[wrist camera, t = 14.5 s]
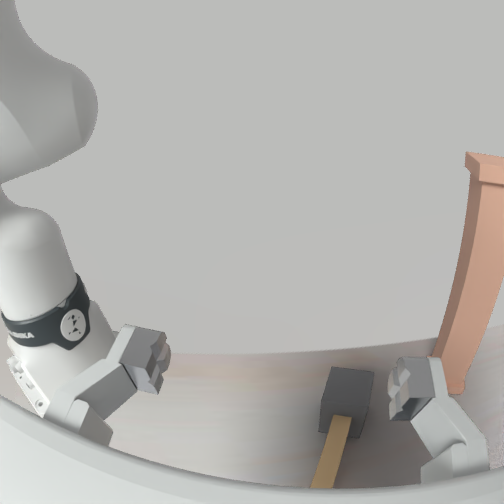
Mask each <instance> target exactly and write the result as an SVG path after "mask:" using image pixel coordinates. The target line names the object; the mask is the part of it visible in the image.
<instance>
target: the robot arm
mask: <svg viewBox="0 0 504 504" xmlns="http://www.w3.org/2000/svg"><path fill="white" fill-rule="evenodd" d="M97 113H98V103H97V96H96V93H95V89H94V87H93V85H92V83H91V81H90V80H89V78H88V77H87V76H86V74H85V73H84V72H82V70H80V69H79V68H77V67H76V66H74V65H72V64H69V63H66V62H64V61H61V60H59V59H57V58H54V57H53V56H51V55H49V54H48V53H46V52H45V51H43V50H42V49H41V48H40V47H39V46H38V45H36V44H35V43H34V42H33V40H32V39H31V38H30V37H29V36H28V34H27V33H26V31H25V30H24V28H23V27H22V24H21V22H20V20H19V17H18V14H17V11H16V6H15V1H14V0H0V308H1V310H2V318H3V321H4V325H5V327H6V329H7V331H8V332H9V337H8V340H7V344H8V346H9V348H10V349H11V351H12V353H13V354H14V355H13V356H12V357H10V358H9V359H7V363H8V365H9V366H10V370H11V372H12V374H13V376H14V377H15V379H16V381H17V382H18V384H19V386H20V387H21V389H22V390H23V392H24V394H25V395H26V397H27V398H28V400H29V401H30V403H31V404H32V406H33V407H34V409H35V410H36V411H37V413H38V414H39V416H38V415H36V414H34V413H32V412H30V411H28V410H26V409H25V408H23V407H21V406H19V405H17V404H16V403H14V402H12V401H10V400H8V399H7V398H5V397H4V396H2V395H0V504H504V466H502V467H499V468H495V469H491V470H490V467H489V458H488V450H487V443H486V438H485V436H484V435H483V434H482V433H481V431H480V430H479V429H478V428H477V426H476V425H475V424H474V423H473V422H472V420H471V419H470V418H469V417H468V415H467V414H466V413H465V412H464V411H463V409H462V408H461V407H460V406H459V405H458V403H457V402H456V401H455V400H454V399H453V397H449V396H448V390H447V385H446V380H445V376H444V371H443V366H442V362H441V359H440V358H439V357H401V358H399V359H398V361H397V367H396V368H394V369H392V371H391V373H390V374H389V378H388V386H387V388H388V394H389V396H390V397H391V398H392V400H391V402H390V403H389V416H390V421H398V420H411V421H410V422H411V423H412V425H413V427H414V428H415V430H416V431H417V433H418V435H419V436H420V438H421V440H422V441H423V443H424V445H425V446H426V448H427V449H428V451H429V453H430V454H431V456H432V458H433V459H431V460H430V461H428V462H427V463H425V464H424V465H423V466H422V467H421V483H420V484H411V485H402V486H391V487H376V488H345V489H336V488H304V487H289V486H278V485H268V484H260V483H252V482H245V481H238V480H232V479H226V478H221V477H215V476H210V475H205V474H201V473H196V472H192V471H187V470H183V469H179V468H175V467H171V466H167V465H164V464H160V463H157V462H153V461H150V460H146V459H143V458H140V457H137V456H134V455H131V454H128V453H125V452H122V451H119V450H116V449H113V448H111V447H108V445H109V443H110V440H111V437H112V434H113V431H112V429H111V428H110V426H109V425H108V424H107V423H106V422H105V421H104V420H105V419H106V418H107V417H108V416H110V415H111V414H112V413H113V412H114V411H115V410H117V409H118V408H119V407H120V406H121V405H122V404H123V403H125V402H126V401H127V400H128V399H129V398H130V397H131V396H132V395H134V394H135V393H136V392H137V390H140V391H144V392H148V393H153V394H157V395H158V394H159V391H160V388H161V386H162V383H163V380H164V379H163V376H162V373H163V372H165V371H166V370H167V369H168V366H169V363H170V358H171V350H170V347H169V345H168V344H167V343H166V342H165V341H166V339H167V338H166V335H165V333H164V332H159V331H155V330H150V329H145V328H140V327H137V326H132V325H127V324H125V325H124V326H123V327H122V328H121V330H120V332H115V331H112V329H111V328H110V326H109V324H108V322H107V320H106V318H105V317H104V315H103V313H102V311H101V309H100V307H99V305H98V304H97V303H96V302H95V301H91V300H89V297H88V295H87V291H86V288H85V285H84V283H83V282H82V280H81V278H80V276H79V275H78V274H77V273H75V271H74V269H73V266H72V263H71V260H70V258H69V255H68V252H67V249H66V246H65V243H64V240H63V237H62V234H61V231H60V228H59V226H58V224H57V223H56V221H55V220H54V219H53V218H52V217H51V216H49V215H48V214H47V213H45V212H43V211H41V210H38V209H34V208H28V207H21V206H18V205H16V204H14V203H13V202H12V201H11V200H9V199H8V198H7V196H6V195H5V194H4V192H3V190H2V188H1V184H2V183H4V182H7V181H9V180H12V179H14V178H17V177H19V176H22V175H25V174H28V173H30V172H33V171H36V170H39V169H41V168H44V167H47V166H50V165H51V164H53V163H55V162H57V161H59V160H61V159H63V158H64V157H66V156H68V155H70V154H72V153H74V152H75V151H77V150H79V149H81V148H82V147H84V146H85V145H86V144H87V142H88V140H89V139H90V137H91V135H92V133H93V130H94V127H95V124H96V120H97Z"/></svg>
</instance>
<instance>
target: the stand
mask: <svg viewBox="0 0 504 504" xmlns="http://www.w3.org/2000/svg"><path fill="white" fill-rule="evenodd" d="M465 167H466V168H467V169H468V170H469V171H470V172H471V174H470V185H469V196H468V203H467V211H466V218H465V226H464V231H463V237H462V243H461V248H460V253H459V259H458V264H457V268H456V273H455V277H454V282H453V285H452V290H451V294H450V297H449V301H448V305H447V309H446V312H445V316H444V319H443V323H442V326H441V329H440V333H439V336H438V339H437V342H436V345H435V348H434V351H433V354H432V356H427V357H439V358H440V359H441V362H442V366H443V371H444V376H445V380H446V385H447V390H448V394H462V393H463V391H464V389H465V382H464V378H465V376H466V374H467V372H468V369H469V367H470V365H471V363H472V361H473V358H474V356H475V354H476V352H477V349H478V347H479V345H480V342H481V340H482V337H483V335H484V332H485V330H486V327H487V324H488V322H489V319H490V316H491V313H492V311H493V308H494V305H495V302H496V299H497V296H498V293H499V290H500V287H501V283H502V280H503V276H504V157H499V156H493V155H486V154H479V153H472V152H466V157H465Z"/></svg>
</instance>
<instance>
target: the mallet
mask: <svg viewBox="0 0 504 504" xmlns="http://www.w3.org/2000/svg"><path fill="white" fill-rule="evenodd" d="M373 377H374V372H370V371H362V370H354V369H347V368H339V367H333V366H332V367H331V370H330V374H329V377H328V381H327V384H326V387H325V391H324V394H323V397H322V400H321V412H320V422H319V432H323V433H328V435H327V438H326V442H325V445H324V448H323V451H322V454H321V457H320V460H319V463H318V466H317V469H316V472H315V475H314V478H313V480H312V483H311V486H310V488H332V487H333V484H334V481H335V478H336V474H337V471H338V468H339V464H340V461H341V457H342V454H343V450H344V446H345V443H346V439H347V436H348V437H355V438H359V437H360V434H361V431H362V427H363V424H364V421H365V417H366V414H367V410H368V406H369V401H370V395H371V390H372V384H373Z"/></svg>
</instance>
